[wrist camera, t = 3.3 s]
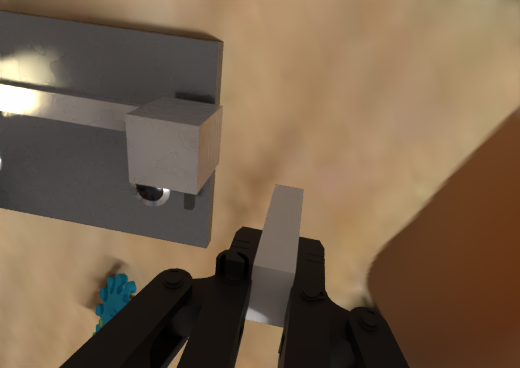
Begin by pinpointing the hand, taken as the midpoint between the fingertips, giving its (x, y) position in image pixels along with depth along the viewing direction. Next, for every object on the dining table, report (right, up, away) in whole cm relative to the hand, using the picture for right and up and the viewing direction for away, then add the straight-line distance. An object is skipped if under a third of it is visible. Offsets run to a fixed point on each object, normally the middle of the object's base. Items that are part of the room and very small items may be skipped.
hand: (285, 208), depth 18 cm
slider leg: (-7, +4, +11) cm, 14 cm away
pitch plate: (-20, +7, +15) cm, 26 cm away
